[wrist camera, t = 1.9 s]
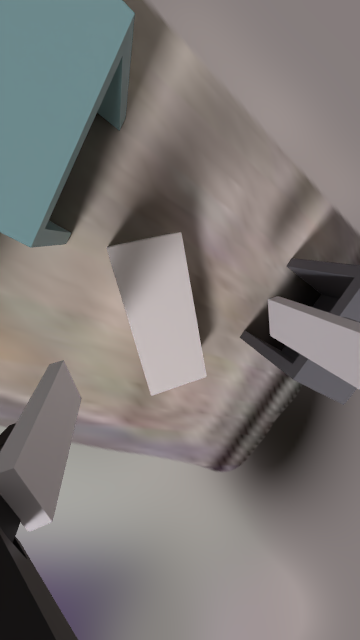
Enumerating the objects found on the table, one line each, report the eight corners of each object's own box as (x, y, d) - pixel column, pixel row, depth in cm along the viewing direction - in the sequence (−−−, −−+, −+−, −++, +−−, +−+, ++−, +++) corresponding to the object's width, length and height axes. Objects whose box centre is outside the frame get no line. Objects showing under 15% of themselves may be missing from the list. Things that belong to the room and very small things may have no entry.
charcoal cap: (239, 337, 24) (293, 379, 17) (291, 258, 22) (375, 267, 15) (282, 360, 26) (343, 404, 19) (331, 291, 25) (417, 311, 18)
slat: (108, 246, 18) (106, 247, 14) (168, 233, 19) (181, 232, 15) (145, 370, 22) (151, 395, 19) (192, 355, 23) (206, 376, 20)
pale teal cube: (-50, 181, 14) (-217, 123, 7) (8, 19, 12) (-129, -265, 5) (66, 243, 16) (30, 247, 10) (125, 117, 15) (134, 13, 8)
